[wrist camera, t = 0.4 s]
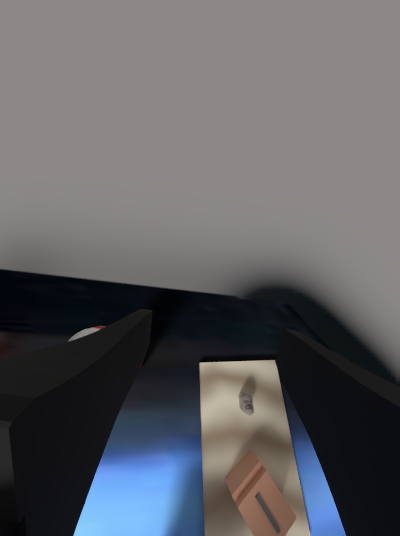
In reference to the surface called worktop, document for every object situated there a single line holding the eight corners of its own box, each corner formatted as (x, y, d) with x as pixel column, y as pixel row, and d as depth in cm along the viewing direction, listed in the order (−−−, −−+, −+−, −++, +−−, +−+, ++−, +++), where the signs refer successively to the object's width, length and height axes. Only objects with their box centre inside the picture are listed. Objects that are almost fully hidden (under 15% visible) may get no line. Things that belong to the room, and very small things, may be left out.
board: (307, 542, 25) (329, 572, 21) (204, 555, 24) (208, 589, 20) (272, 360, 35) (283, 359, 32) (199, 362, 34) (201, 362, 30)
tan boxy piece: (281, 497, 26) (302, 525, 21) (256, 532, 24) (273, 571, 20) (250, 449, 28) (263, 465, 24) (225, 478, 26) (234, 501, 22)
